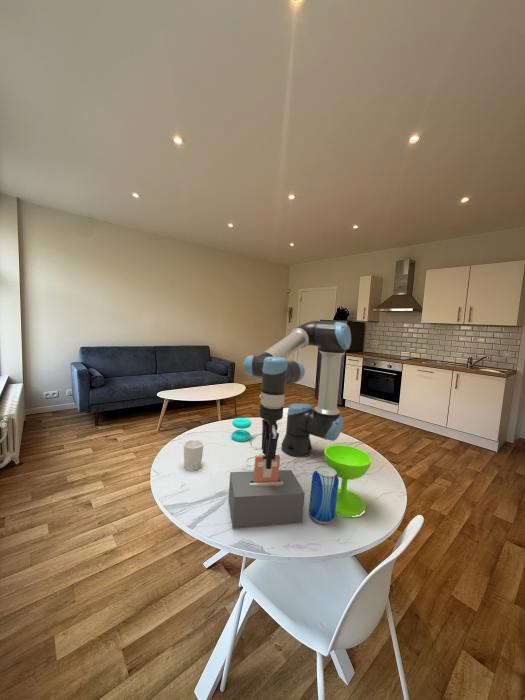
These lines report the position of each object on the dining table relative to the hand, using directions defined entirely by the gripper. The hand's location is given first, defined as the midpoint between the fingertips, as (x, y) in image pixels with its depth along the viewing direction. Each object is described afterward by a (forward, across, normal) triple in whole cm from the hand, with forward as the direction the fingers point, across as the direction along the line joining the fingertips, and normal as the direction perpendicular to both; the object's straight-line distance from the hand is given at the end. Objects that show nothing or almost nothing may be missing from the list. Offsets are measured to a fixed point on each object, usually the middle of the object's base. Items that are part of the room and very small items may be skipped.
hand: (266, 475), depth 93 cm
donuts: (+13, -58, 0) cm, 59 cm away
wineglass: (+13, -1, +29) cm, 32 cm away
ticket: (+5, 0, 0) cm, 5 cm away
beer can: (+13, +5, +18) cm, 23 cm away
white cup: (+13, -30, -24) cm, 40 cm away
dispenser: (+12, 0, 0) cm, 12 cm away
